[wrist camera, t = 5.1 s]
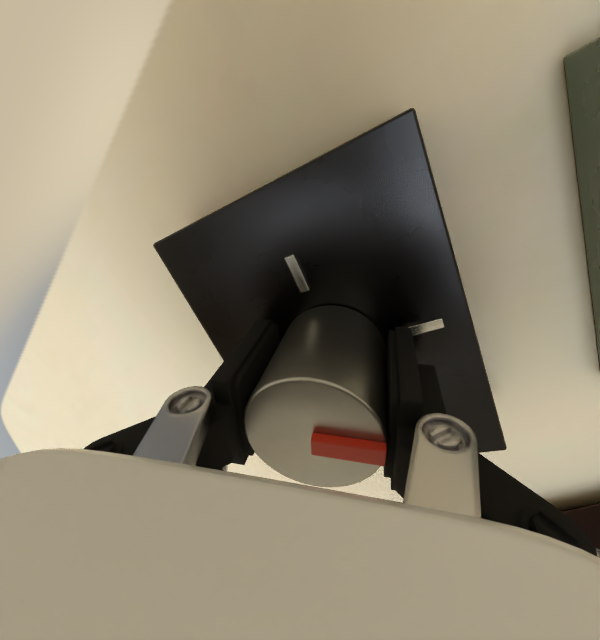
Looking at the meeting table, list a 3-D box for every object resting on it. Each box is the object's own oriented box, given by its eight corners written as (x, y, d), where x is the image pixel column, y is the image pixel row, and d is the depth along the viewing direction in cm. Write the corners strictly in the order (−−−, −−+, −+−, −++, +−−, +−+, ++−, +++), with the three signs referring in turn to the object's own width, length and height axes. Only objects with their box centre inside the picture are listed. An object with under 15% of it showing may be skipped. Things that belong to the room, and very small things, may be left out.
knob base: (191, 229, 15) (148, 245, 12) (406, 117, 11) (414, 104, 8) (304, 431, 19) (291, 477, 16) (486, 400, 15) (509, 453, 13)
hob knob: (287, 385, 14) (247, 484, 10) (281, 301, 12) (227, 378, 8) (382, 396, 13) (382, 509, 9) (390, 307, 11) (395, 397, 7)
